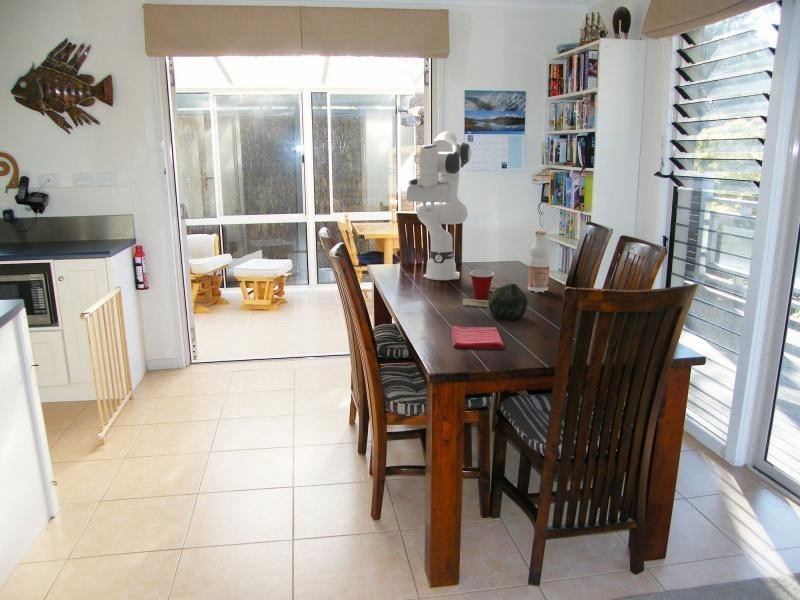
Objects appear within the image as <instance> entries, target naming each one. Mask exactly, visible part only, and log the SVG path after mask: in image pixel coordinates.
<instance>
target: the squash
mask: <svg viewBox="0 0 800 600" xmlns="http://www.w3.org/2000/svg"><path fill="white" fill-rule="evenodd" d="M499 287H500V288H498V289H496V290H495V291H494V292H491V295H490V298H488V301H489V307H488V309H489V311H490V314H491V315H492V317H495V318H497V319H498V318H500V319H503V318H504V319H506V320H511V321H516V320H520V319H522V317H524V316H525V314H526V312H527V308H528V306H529V305H528V303H529V302H528V297H527V295H526V293H524V291H523V290H522V289H521V288H520V287H519V286H518V285H517V284H516V283H509V284H505V285H503V286H499Z"/></svg>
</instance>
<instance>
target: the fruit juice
mask: <svg viewBox="0 0 800 600" xmlns="http://www.w3.org/2000/svg"><path fill="white" fill-rule="evenodd" d="M546 236H547V231H543V230H535V238H534V241H533V243H532V245H531V246H530V247H529V248H530V249H529V254H530V258H529V260H528V261H529V262H528V275H527V276H528V277H527V290H528V291H529V290H530V291H529V292H531V291H534V292H533V293H538V292H542V293H545V292H544V291H547V290H548V291H549V283H550V281H549V279H550V278H549V277H550V258H549V255H550V253H551V250H550V246H549V245H548V243H547V239H546ZM548 291H547V292H548Z"/></svg>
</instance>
